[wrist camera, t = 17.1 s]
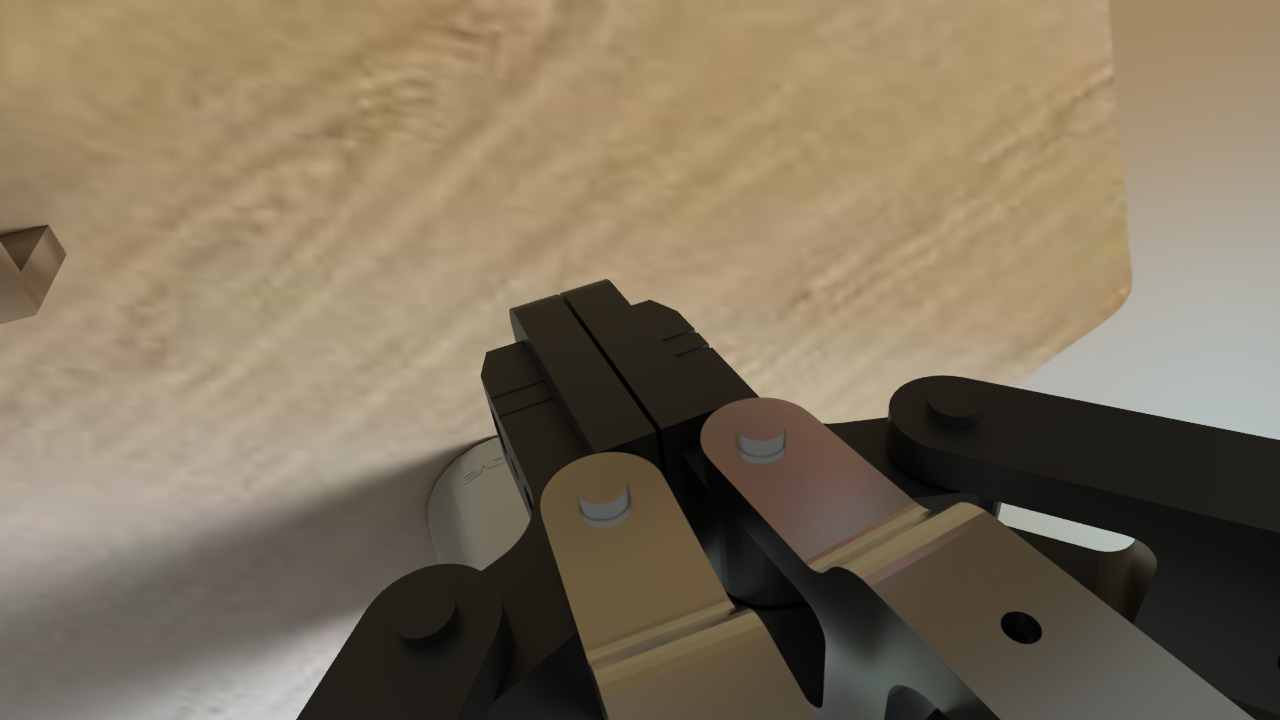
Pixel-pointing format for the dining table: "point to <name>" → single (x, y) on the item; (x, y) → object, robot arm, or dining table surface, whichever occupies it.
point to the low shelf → (27, 271)
